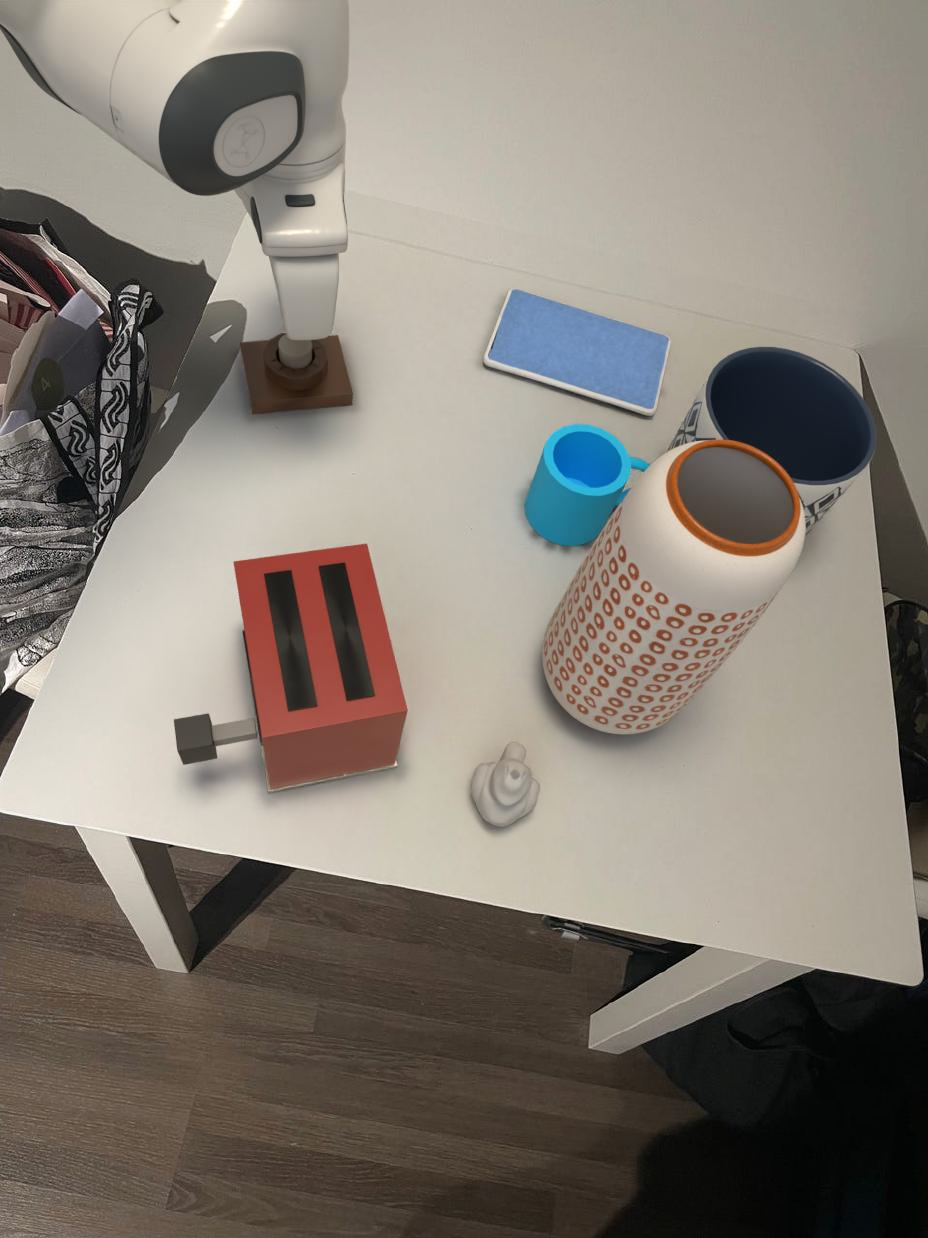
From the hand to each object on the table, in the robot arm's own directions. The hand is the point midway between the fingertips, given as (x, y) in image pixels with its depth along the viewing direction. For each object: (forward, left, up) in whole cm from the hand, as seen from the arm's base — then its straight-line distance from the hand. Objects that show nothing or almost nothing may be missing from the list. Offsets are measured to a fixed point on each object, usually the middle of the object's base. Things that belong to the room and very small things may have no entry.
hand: (291, 303), depth 79 cm
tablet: (+31, 0, -10) cm, 33 cm away
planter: (+40, -22, -10) cm, 47 cm away
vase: (+21, -38, -10) cm, 45 cm away
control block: (0, 0, -10) cm, 10 cm away
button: (0, 0, -7) cm, 7 cm away
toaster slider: (-12, -39, -4) cm, 41 cm away
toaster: (-4, -35, -10) cm, 37 cm away
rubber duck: (+9, -46, -10) cm, 48 cm away
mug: (+25, -20, -10) cm, 34 cm away
